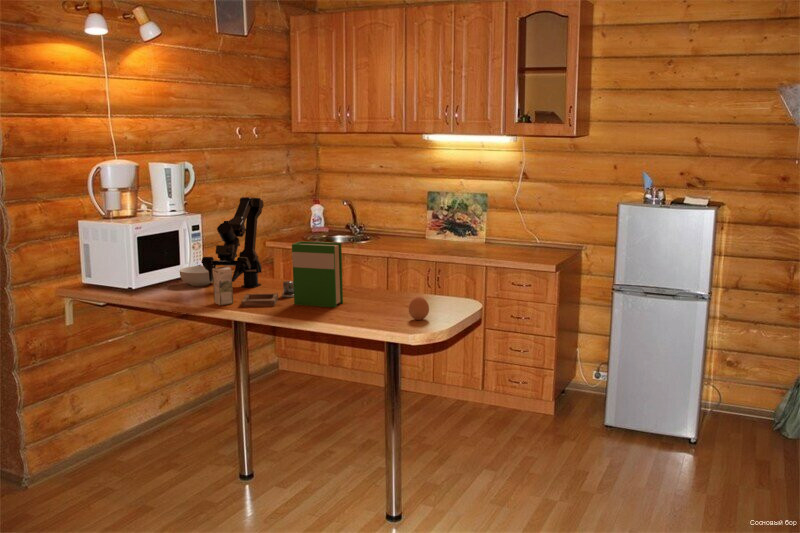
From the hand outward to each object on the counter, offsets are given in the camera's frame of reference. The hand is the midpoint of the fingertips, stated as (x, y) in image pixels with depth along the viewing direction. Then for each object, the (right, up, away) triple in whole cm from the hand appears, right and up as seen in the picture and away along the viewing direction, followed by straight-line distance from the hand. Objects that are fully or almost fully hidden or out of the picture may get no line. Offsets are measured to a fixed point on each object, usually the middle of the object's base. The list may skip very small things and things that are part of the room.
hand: (221, 281), depth 306 cm
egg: (+77, -14, -26) cm, 82 cm away
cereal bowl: (-19, -2, +40) cm, 45 cm away
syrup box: (0, -9, +3) cm, 10 cm away
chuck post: (+24, -6, +14) cm, 29 cm away
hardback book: (+38, -9, 0) cm, 39 cm away
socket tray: (+15, -9, +3) cm, 17 cm away
